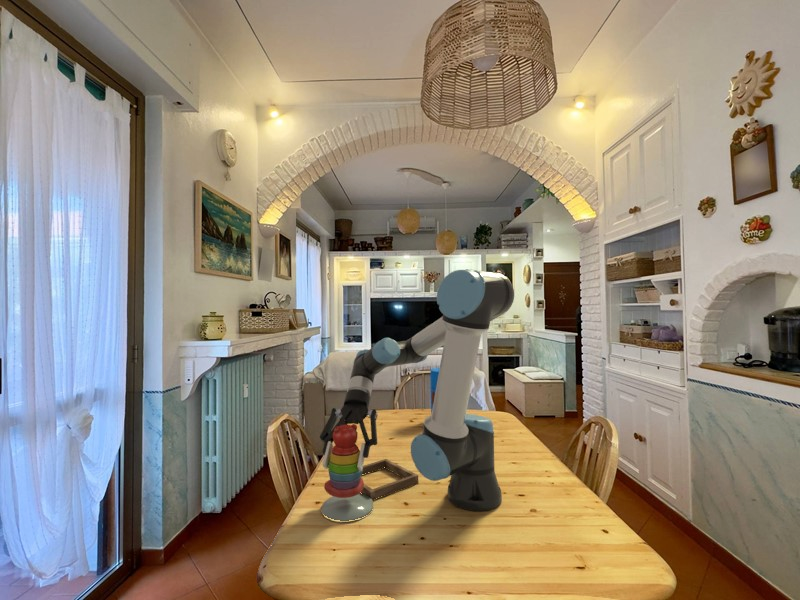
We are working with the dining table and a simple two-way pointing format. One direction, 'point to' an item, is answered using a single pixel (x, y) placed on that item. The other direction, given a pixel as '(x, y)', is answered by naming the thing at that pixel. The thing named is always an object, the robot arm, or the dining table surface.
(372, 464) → the collar
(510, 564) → the dining table surface
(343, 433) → the stacking bear
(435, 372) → the thermos
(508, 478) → the dining table surface
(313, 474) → the dining table surface
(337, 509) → the pad
